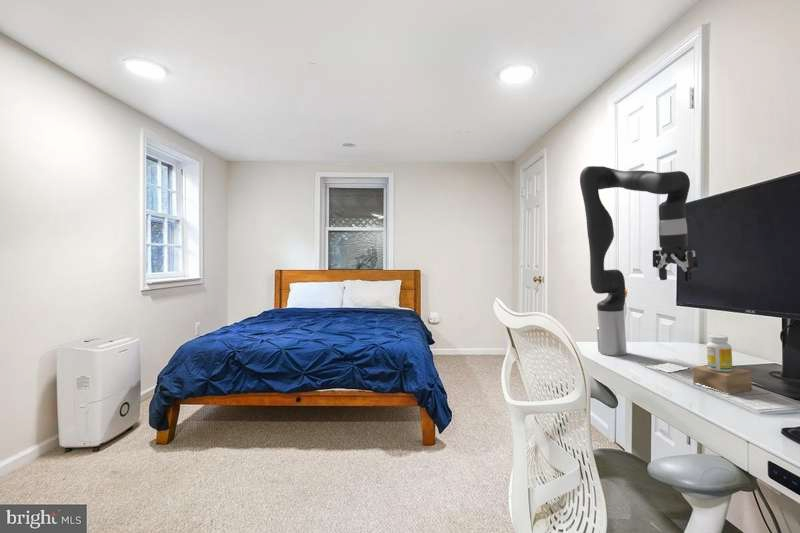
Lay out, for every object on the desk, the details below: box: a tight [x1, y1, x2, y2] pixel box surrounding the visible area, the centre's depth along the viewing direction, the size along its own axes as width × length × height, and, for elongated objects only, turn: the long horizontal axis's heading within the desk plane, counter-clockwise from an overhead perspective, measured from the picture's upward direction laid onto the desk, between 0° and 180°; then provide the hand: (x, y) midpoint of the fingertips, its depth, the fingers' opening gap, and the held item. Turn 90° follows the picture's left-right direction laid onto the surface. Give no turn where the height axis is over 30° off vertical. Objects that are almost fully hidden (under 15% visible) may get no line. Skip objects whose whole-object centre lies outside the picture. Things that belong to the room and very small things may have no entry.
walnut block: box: [692, 364, 753, 394], centre depth 105 cm, size 9×9×5 cm
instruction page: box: [645, 365, 657, 371], centre depth 124 cm, size 8×10×1 cm
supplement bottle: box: [706, 334, 733, 372], centre depth 105 cm, size 5×5×10 cm
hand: (675, 281), depth 123 cm, fingers open, 8 cm apart
